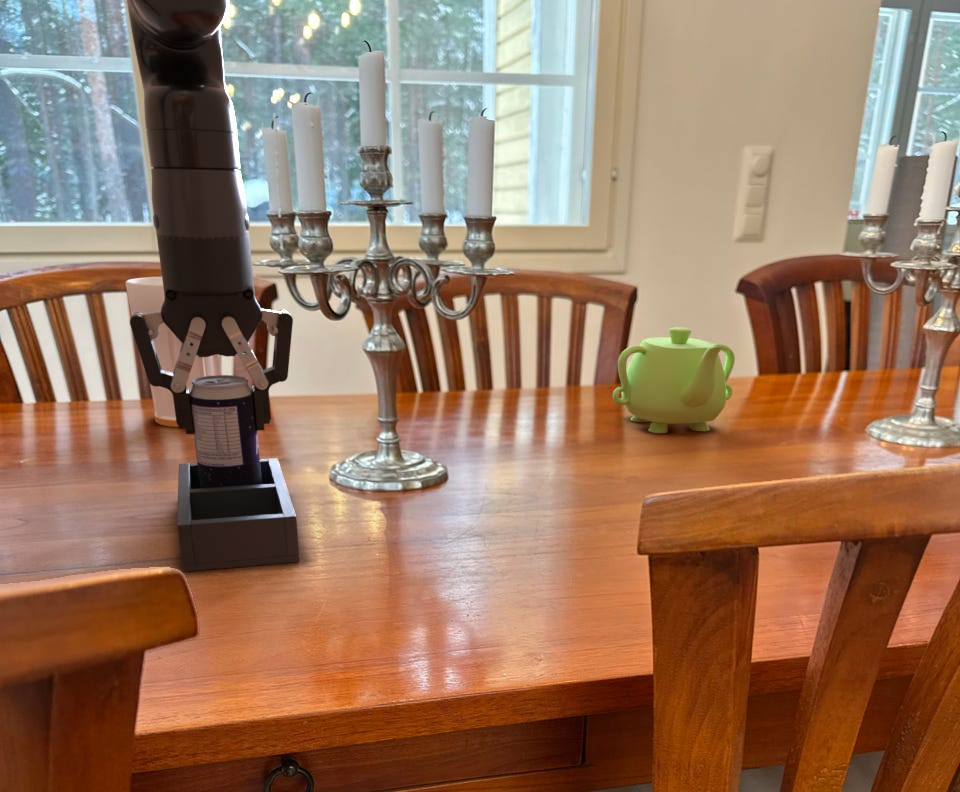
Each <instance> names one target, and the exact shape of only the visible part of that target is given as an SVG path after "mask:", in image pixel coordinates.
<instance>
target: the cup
mask: <svg viewBox="0 0 960 792" xmlns="http://www.w3.org/2000/svg"><path fill="white" fill-rule="evenodd" d="M125 288H126V293H127V294H126V295H127V299H128V304H129V309H130V315H131V316H132V315H133V314H134V313H136V312H140V313H142V314H143V313H149V312H154V311H159V310H161V308H162V305H163V303H164V299H165V296H164V287H163V280H162V276H147V277H146V276H144V277H137V278H130V279H127V280H125ZM131 316H130V317H131ZM158 329H159V333H158V336H157V337H156V338H155V339H153V342H154V346H155V349H156V352H157V355H158V358H159V361H160V365H161V368H162V370H164V371H167V372H171V373H173V371H174V368H175V365H176V362H177V358H178V355H179V352H180V349H181V345H182V343H181V342H180V340H179V339H178V338H177V337H176V336H175V335H174V334H173V332H172V331H171V330H170V329H169V328H168V327H167V325H166V324H165V323H164V322H163V323H161V324H160V325H159V327H158ZM214 375H222V365H221V355H218V354H216V355H213V356H209V357H199V356H197V355H196V357H195V360H194V363H193V366H192V369H191V371H190V374H189V377H188V380H187V383H186V388H187V389H189V395H190V392H191V389H192V386H193V384H192V380H194V379H196V378H200V377H205V376H214ZM149 385H150V392H151V397H152V403H153V408H154V414H153V415H154V422H155V423H157V425H160V426H165V427H170V428H179V426H178V424H177V423H176V415H175V408H174V400H173V395H172V393H171V391H170V390H168V389H166V388H163V387H160V386H157V387H155V386H152V385H151V384H150V383H149Z"/></svg>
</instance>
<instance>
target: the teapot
mask: <svg viewBox="0 0 960 792" xmlns="http://www.w3.org/2000/svg"><path fill="white" fill-rule="evenodd" d="M668 333H669V336H666V337H665V336H664V337H663V336H662V337H660V336H657V337H647V338H646V337H645V338H644V339H643V340H642V341H641V342H640V344H639V345H636V344H635V345H631V346H628V347H627V348H625V349H623V351H622V352H621V353H620V354H619V356H618V359H617V371H618V377H619V381H620V386H618V387H616V388H615V389H614V390H613V392H612V401H613V402H614V404H616V405H618V406H625V408H626V410H627V411H628V413H630V414H631V415H633V416H632V417H631V418H630V421H632V422H636V423H647V422H651V423H650V424H649V428H648V430H647V431H648V432H650V433H654V434H665V433H668V429H669V424H689V427H690V430H692V431H696V432H709V431H710V427H709V426H708V423H707V422H712V421H714V420H715V419H717V417H719V416H720V414H721V413H722V411H723V410H724V409H725V406H726V404H727V403H726V402H727V401H728V400H730V399H731V397H732V395H733V388H732V386H731V385H730V384H728V383H727V381H728V380H729V377H730V375H731V374H732V371H733V369H734V365H735V361H736V357H735V353H734V351H733V349H731V347H729V346H728V345H727V344H723V343H720V342H719V343H712V342H710V341H706V340H704V339H703V340H702V339H698V338H693V337H690V336H691V334H692V329H690V328H689V327H670V328H668ZM720 352H723V353H725V362H724V366H723V364H722V361H721V358H720V354H719V353H720ZM631 355H633V356H632V357H631V360H630V362H629V364H628V366H627V361H628V359H629V357H630V356H631ZM620 395H621V398H620Z"/></svg>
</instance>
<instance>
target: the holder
mask: <svg viewBox="0 0 960 792" xmlns="http://www.w3.org/2000/svg"><path fill="white" fill-rule="evenodd" d="M260 467H261V478H262V485H246V486H231V487H215V488H201V487H200V479H199V471H198V463H197V462H190V463H189V462H187V463H179V464H178V478H177V479H178V481H177V482H178V483H177V514H176V517H177V518H176V527H177V535H178V542H179V550H180V555H181V563H182V569H183V572H185V573H187V572H199V571H209V570H210V571H211V570H221V569H230V568H231V569H232V568H233V569H234V568H244V567H255V566H264V565H265V566H267V565H277V564H289V563H299V562H300V561H301V559H300V548H299V533H298V523H297V514H296V511H295V509H294V505H293V502H292V499H291V496H290V493H289V489H288V487H287V484H286V483H287V482H286V480H285V478H284V474H283V471H282V468H281V464H280V462H279V459H278V458H277V457H274V458H273V457H271V458H260Z"/></svg>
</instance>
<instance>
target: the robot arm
mask: <svg viewBox="0 0 960 792" xmlns="http://www.w3.org/2000/svg"><path fill="white" fill-rule="evenodd" d="M126 4H127V11H128V18H129V23H130V28H131V34H132V41H133V46H134V52H135V56H136V61H137V66H138V71H139V76H140V80H141V85H142V89H143V107H144V108H143V109H144V110H143V111H144V125H145V133H146V139H147V141H146V142H147V148H148V156H149V163H150V167H151V169H150V171H151V172H150V173H151V202H152V210H153V217H152V220H153V226H154V228H155V233H156V240H157V241H156V242H157V249H158V257H159V264H160V271H161V277H162V280H163V287H164V296H165V299H164V303H163V305H162V308H161V310H159V311H154V312H149V313H143V314H142V313H140V312H136V313H134V314H133V315H132V316H130V319H129V325H130V327H131V332H132V334H133V337H134V341H135V344H136V346H137V350H138V353H139V356H140V358H141V359H140V360H141V363H142V365H143V368H144V371H145V374H146V377H147V380H148V383H149V385H150V384H151V385H152V386H155V387H157V386H160V387H163V388H166V389H168V390H170V391H171V393H172V395H173V400H174V408H175V415H176V423H177V424H178V426H179V427H178V428H179V429H185V435H194V429H193V421H192V413H191V406H190V398H189V389H187V388H186V383H187V380H188V377H189V374H190V371H191V369H192V366H193V363H194V360H195V357H196V355H197V356H199V357H209V356H213V355H216V354H218V355H220V356H223V357H236V355H238V356H237V357H238V358H239V359H240V361H241V363H242V365H243V367H244V368H245V370H246V371H247V374H248V375H249V377H250V379H251V381H252V383H253V385H251V390H252V392H253V396H254V407H255V417H256V428H257V432H258V431H265V425H269V424H270V423H271V420H272V414H271V412H272V411H271V402H270V388H271V387H272V386H273V385H276V384H278V383H282V382H285V381H287V379H288V376H289V367H290V355H291V346H292V335H293V323H294V319H293V316H292V315H291V313H290V312H289V311H288V310H286V309H280V310H278V311H277V310H271V309H266V308H262V307H261V306H260V304H259V303H258V300H257V298H256V294H255V283H254V271H253V261H252V249H251V240H250V225H251V224H250V218H249V214H248V205H247V204H248V203H247V198H246V192H245V188H244V184H243V179H242V172H241V170H240V169H241V163H240V162H241V161H240V151H239V140H238V129H237V128H238V127H237V122H236V116H235V110H234V105H233V102H232V100H231V97H230V95H229V94H228V92H227V89H226V82H225V81H226V79H225V68H224V58H223V48H222V37H221V36H222V35H221V33H222V31H221V26H222V24H223V22H224V21H225V18H226V17H227V13H228V10H229V5H230V0H126ZM163 322H164V323H165V324H166V325H167V327H168V328H169V329H170V330H171V331H172V332H173V334H174V335H175V336H176V337H177V338H178V339H179V340H180V342H181V343H182V345H181V349H180V352H179V355H178V358H177V362H176V365H175V368H174V371H173V373H171V372H167V371H164V370H162V368H161V365H160V361H159V358H158V355H157V352H156V349H155V346H154V342H153V339H155V338H156V337H157V336H158V333H159V329H158V327H159V325H160V324H161V323H163ZM261 322H264V324H266V329H267V332H268V334H269V335H271V336H272V337H274V341H273V353H272V354H273V355H272V365H271V366H270V367H267V368H265V369H263V368H262V366H261V364H260V362H259V360H258V358H257V357H256V354H255V353H254V351H253V348H252V347H251V345H250V343H249V342H250V340H251V338H252V337H253V336H254V333H255V331H257V328H258V327H259V325H260V323H261Z"/></svg>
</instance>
